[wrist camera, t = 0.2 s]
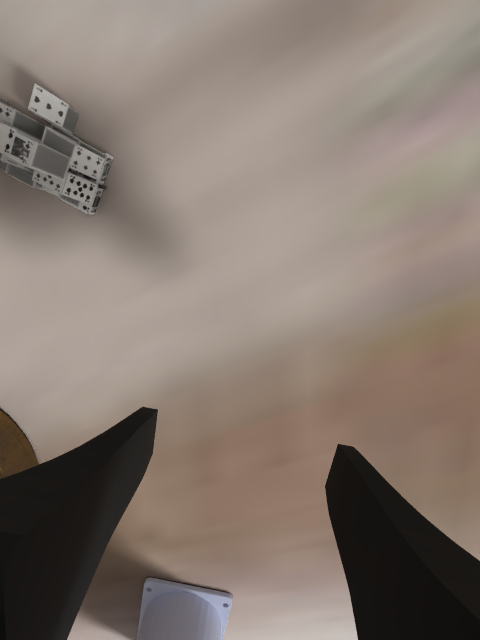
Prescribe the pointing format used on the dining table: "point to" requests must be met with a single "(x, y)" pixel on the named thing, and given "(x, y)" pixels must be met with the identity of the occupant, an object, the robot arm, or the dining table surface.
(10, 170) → the house of cards
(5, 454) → the wooden container
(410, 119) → the dining table surface
